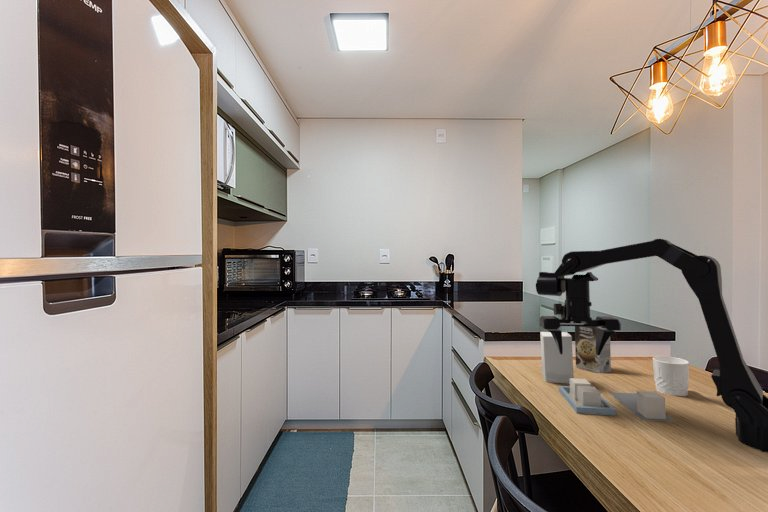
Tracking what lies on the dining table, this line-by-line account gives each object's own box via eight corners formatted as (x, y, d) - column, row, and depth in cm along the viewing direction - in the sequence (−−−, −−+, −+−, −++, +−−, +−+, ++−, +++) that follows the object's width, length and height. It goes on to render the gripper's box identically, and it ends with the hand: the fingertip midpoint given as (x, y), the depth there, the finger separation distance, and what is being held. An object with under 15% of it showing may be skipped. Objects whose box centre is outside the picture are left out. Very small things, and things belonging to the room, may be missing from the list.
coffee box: (574, 367, 123) (573, 322, 124) (586, 364, 126) (585, 320, 126) (600, 374, 115) (598, 326, 115) (612, 371, 118) (610, 324, 118)
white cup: (697, 402, 92) (696, 364, 92) (663, 400, 94) (662, 363, 94) (678, 391, 100) (677, 356, 100) (647, 389, 101) (646, 355, 102)
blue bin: (615, 420, 83) (615, 409, 83) (576, 417, 85) (576, 407, 85) (591, 396, 97) (591, 387, 97) (558, 394, 99) (558, 385, 99)
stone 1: (591, 402, 92) (591, 384, 92) (575, 402, 92) (574, 383, 92) (585, 397, 96) (585, 378, 96) (570, 396, 96) (569, 378, 96)
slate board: (676, 427, 79) (675, 421, 79) (641, 424, 80) (641, 419, 80) (637, 397, 96) (636, 393, 96) (609, 396, 97) (608, 392, 97)
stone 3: (665, 419, 80) (665, 397, 80) (646, 418, 81) (645, 396, 81) (655, 411, 84) (655, 391, 84) (637, 410, 85) (636, 390, 85)
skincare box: (569, 380, 110) (568, 331, 110) (575, 388, 104) (573, 336, 104) (541, 378, 112) (539, 330, 113) (544, 386, 106) (543, 335, 106)
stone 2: (601, 412, 86) (600, 392, 86) (583, 411, 87) (582, 391, 87) (594, 406, 90) (594, 386, 90) (577, 405, 91) (577, 386, 91)
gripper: (602, 294, 100) (604, 348, 100) (534, 294, 104) (535, 346, 104) (621, 298, 90) (622, 359, 89) (543, 298, 93) (545, 356, 93)
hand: (579, 354), depth 94 cm, fingers open, 9 cm apart
